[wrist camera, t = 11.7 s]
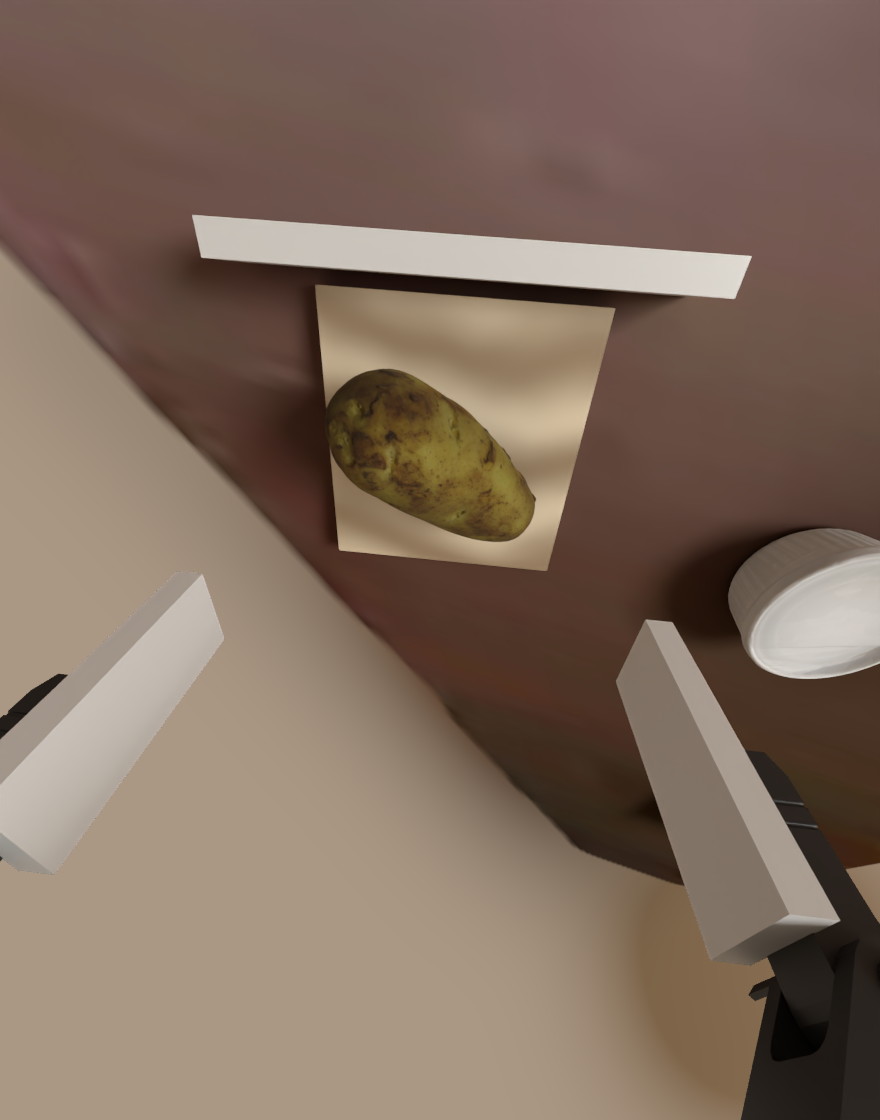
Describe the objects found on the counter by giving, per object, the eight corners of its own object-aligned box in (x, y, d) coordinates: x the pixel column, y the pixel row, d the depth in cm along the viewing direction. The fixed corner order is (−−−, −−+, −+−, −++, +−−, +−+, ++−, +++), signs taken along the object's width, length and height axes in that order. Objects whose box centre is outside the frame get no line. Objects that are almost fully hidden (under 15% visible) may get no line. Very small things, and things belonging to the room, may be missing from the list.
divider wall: (246, 228, 22) (192, 215, 18) (698, 262, 21) (752, 256, 17) (252, 263, 23) (201, 257, 19) (686, 296, 22) (734, 298, 18)
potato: (437, 549, 30) (425, 622, 24) (331, 391, 25) (276, 429, 18) (542, 502, 28) (561, 570, 21) (449, 311, 22) (436, 321, 15)
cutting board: (323, 284, 23) (315, 284, 22) (608, 307, 22) (615, 308, 21) (344, 540, 33) (338, 550, 31) (544, 560, 32) (546, 570, 31)
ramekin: (738, 649, 36) (774, 699, 31) (690, 564, 31) (724, 609, 27) (894, 592, 31) (962, 642, 27) (864, 483, 27) (939, 522, 22)
